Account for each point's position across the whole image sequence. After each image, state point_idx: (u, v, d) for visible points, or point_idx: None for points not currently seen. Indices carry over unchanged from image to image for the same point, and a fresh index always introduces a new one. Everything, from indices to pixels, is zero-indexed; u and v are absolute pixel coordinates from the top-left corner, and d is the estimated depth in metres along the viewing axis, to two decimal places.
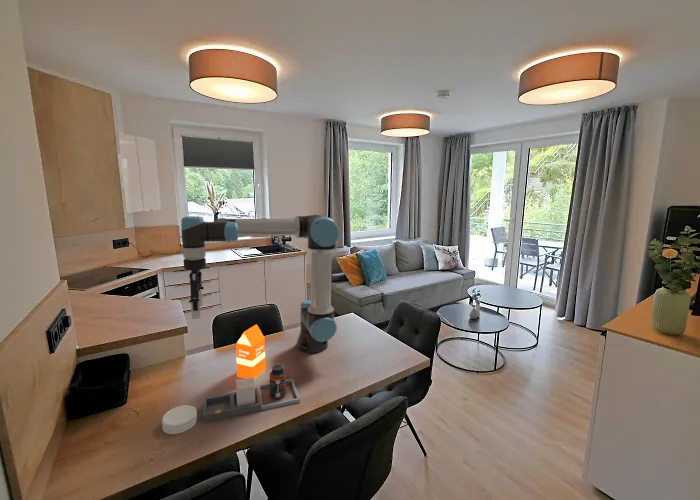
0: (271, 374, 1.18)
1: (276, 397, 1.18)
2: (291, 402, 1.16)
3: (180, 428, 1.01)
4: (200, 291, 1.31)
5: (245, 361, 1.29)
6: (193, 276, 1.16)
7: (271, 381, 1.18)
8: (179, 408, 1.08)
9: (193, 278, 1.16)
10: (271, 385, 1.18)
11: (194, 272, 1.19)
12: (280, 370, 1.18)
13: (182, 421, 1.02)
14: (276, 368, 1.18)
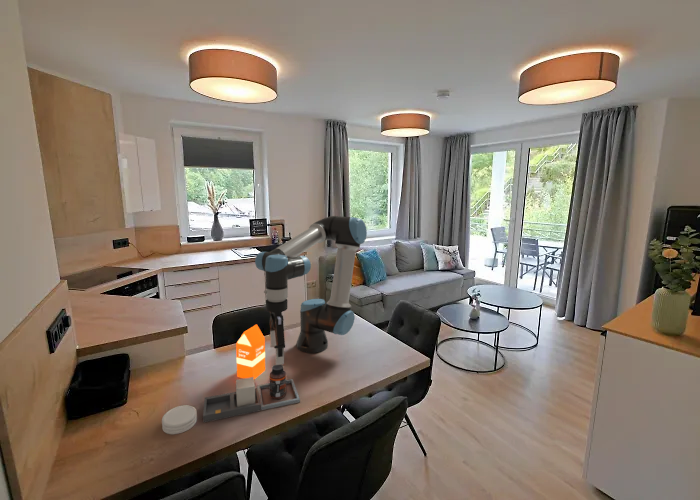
0: (271, 374, 1.18)
1: (276, 397, 1.18)
2: (291, 402, 1.16)
3: (180, 428, 1.01)
4: None
5: (245, 361, 1.29)
6: (279, 320, 1.09)
7: (271, 381, 1.18)
8: (179, 408, 1.08)
9: (279, 322, 1.09)
10: (271, 385, 1.18)
11: (278, 315, 1.12)
12: (280, 370, 1.18)
13: (182, 421, 1.02)
14: (276, 368, 1.18)
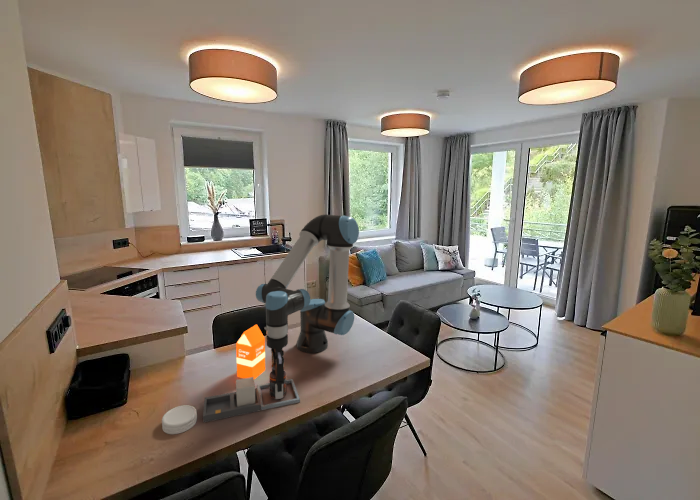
0: (271, 374, 1.18)
1: None
2: (291, 402, 1.16)
3: (180, 428, 1.01)
4: None
5: (245, 361, 1.29)
6: (279, 361, 1.12)
7: (271, 381, 1.18)
8: (179, 408, 1.08)
9: (279, 362, 1.12)
10: (271, 385, 1.18)
11: (278, 351, 1.14)
12: None
13: (182, 421, 1.02)
14: None
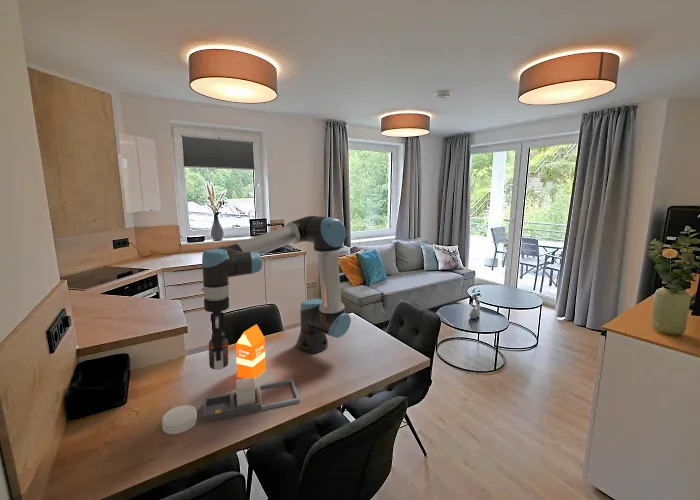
0: (210, 342, 1.06)
1: None
2: (291, 402, 1.16)
3: (180, 428, 1.01)
4: None
5: (245, 361, 1.29)
6: (216, 325, 1.00)
7: (210, 349, 1.06)
8: (179, 408, 1.08)
9: (216, 327, 1.01)
10: (210, 354, 1.06)
11: (216, 315, 1.03)
12: None
13: (182, 421, 1.02)
14: None
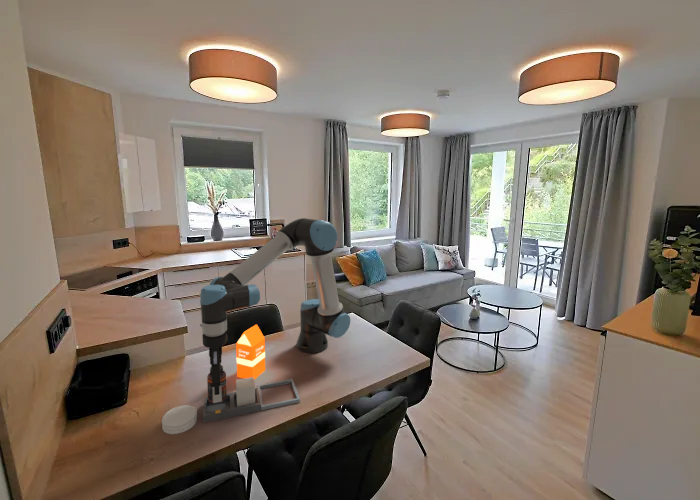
0: (209, 375, 1.08)
1: None
2: (291, 402, 1.16)
3: (180, 428, 1.01)
4: None
5: (245, 361, 1.29)
6: (214, 361, 1.02)
7: (208, 383, 1.08)
8: (179, 408, 1.08)
9: (214, 363, 1.02)
10: (208, 388, 1.08)
11: (215, 350, 1.04)
12: None
13: (182, 421, 1.02)
14: None
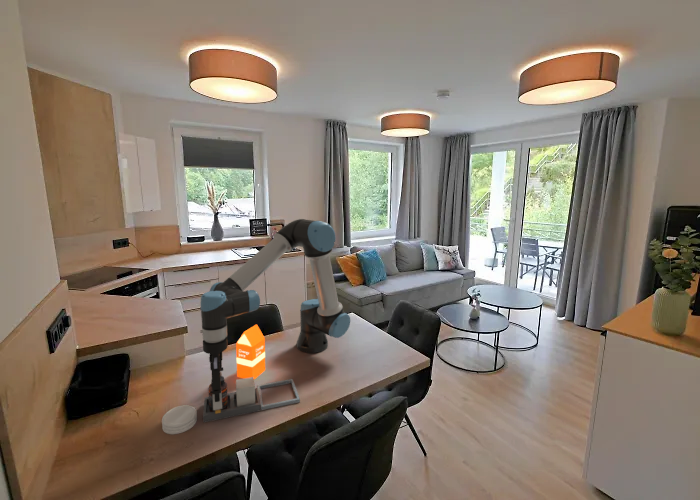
0: (210, 386, 1.09)
1: None
2: (291, 402, 1.16)
3: (180, 428, 1.01)
4: (220, 374, 1.15)
5: (245, 361, 1.29)
6: (214, 365, 1.02)
7: (210, 394, 1.09)
8: (179, 408, 1.08)
9: (214, 367, 1.02)
10: (210, 399, 1.09)
11: (215, 356, 1.05)
12: None
13: (182, 421, 1.02)
14: None
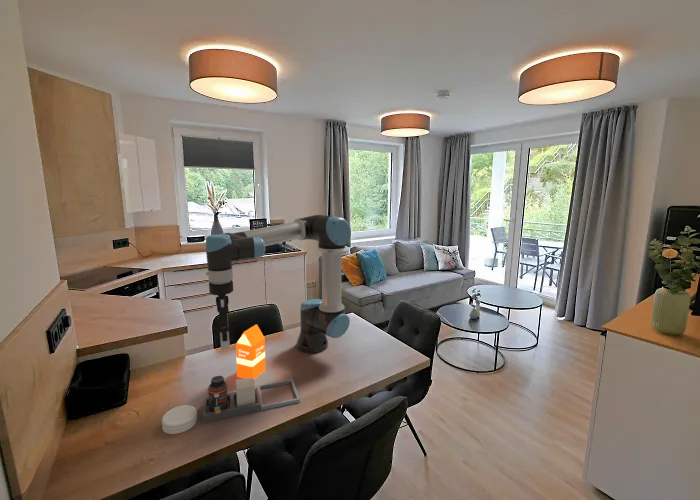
0: (210, 387, 1.09)
1: None
2: (291, 402, 1.16)
3: (180, 428, 1.01)
4: None
5: (245, 361, 1.29)
6: (221, 303, 1.03)
7: (209, 394, 1.09)
8: (179, 408, 1.08)
9: (221, 305, 1.03)
10: (209, 399, 1.09)
11: (221, 297, 1.06)
12: (219, 382, 1.09)
13: (182, 421, 1.02)
14: (215, 380, 1.09)
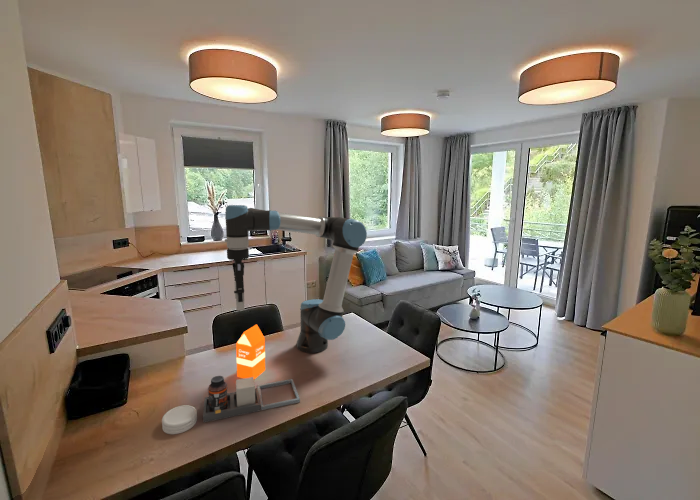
0: (210, 387, 1.09)
1: None
2: (291, 402, 1.16)
3: (180, 428, 1.01)
4: None
5: (245, 361, 1.29)
6: (238, 266, 1.13)
7: (209, 394, 1.09)
8: (179, 408, 1.08)
9: (238, 268, 1.13)
10: (209, 399, 1.09)
11: (238, 262, 1.16)
12: (219, 382, 1.09)
13: (182, 421, 1.02)
14: (215, 380, 1.09)
